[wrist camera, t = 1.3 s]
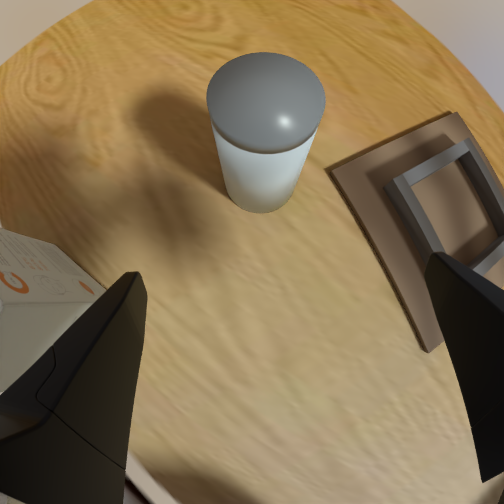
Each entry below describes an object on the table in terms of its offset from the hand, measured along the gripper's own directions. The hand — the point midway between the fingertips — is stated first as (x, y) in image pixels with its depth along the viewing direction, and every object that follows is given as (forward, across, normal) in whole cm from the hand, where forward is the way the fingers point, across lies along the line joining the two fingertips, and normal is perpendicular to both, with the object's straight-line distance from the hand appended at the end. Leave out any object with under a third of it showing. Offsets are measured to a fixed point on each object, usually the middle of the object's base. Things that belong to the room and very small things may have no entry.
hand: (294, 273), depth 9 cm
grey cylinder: (+15, 0, +4) cm, 16 cm away
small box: (+9, +16, +10) cm, 21 cm away
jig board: (+13, -16, +6) cm, 21 cm away
